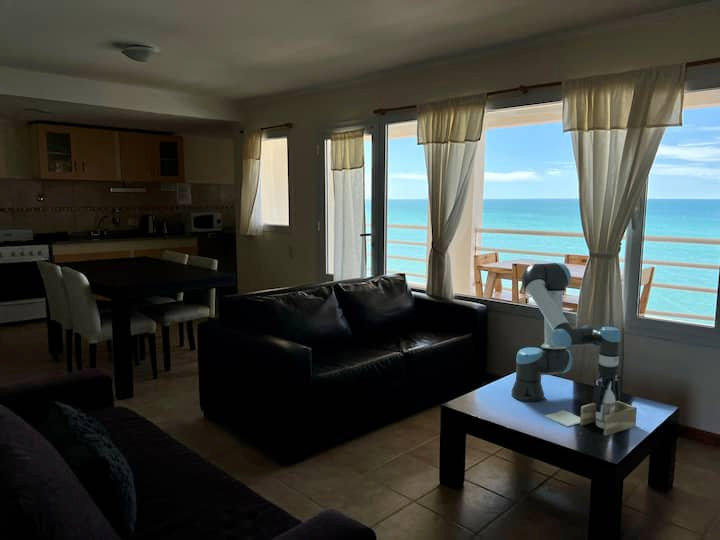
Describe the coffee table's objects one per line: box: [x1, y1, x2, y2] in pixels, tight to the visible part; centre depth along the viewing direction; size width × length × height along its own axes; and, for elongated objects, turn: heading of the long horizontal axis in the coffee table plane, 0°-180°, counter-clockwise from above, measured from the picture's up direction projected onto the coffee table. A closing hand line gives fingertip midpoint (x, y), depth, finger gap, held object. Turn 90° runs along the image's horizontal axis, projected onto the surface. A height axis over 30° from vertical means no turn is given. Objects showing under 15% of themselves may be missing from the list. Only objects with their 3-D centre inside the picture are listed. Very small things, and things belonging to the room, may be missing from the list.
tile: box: [544, 409, 581, 428], centre depth 224 cm, size 12×12×1 cm
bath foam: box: [595, 382, 616, 430], centre depth 215 cm, size 7×7×20 cm
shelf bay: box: [579, 400, 638, 436], centre depth 217 cm, size 12×19×8 cm, turn 119°
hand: (605, 416), depth 216 cm, fingers open, 7 cm apart
